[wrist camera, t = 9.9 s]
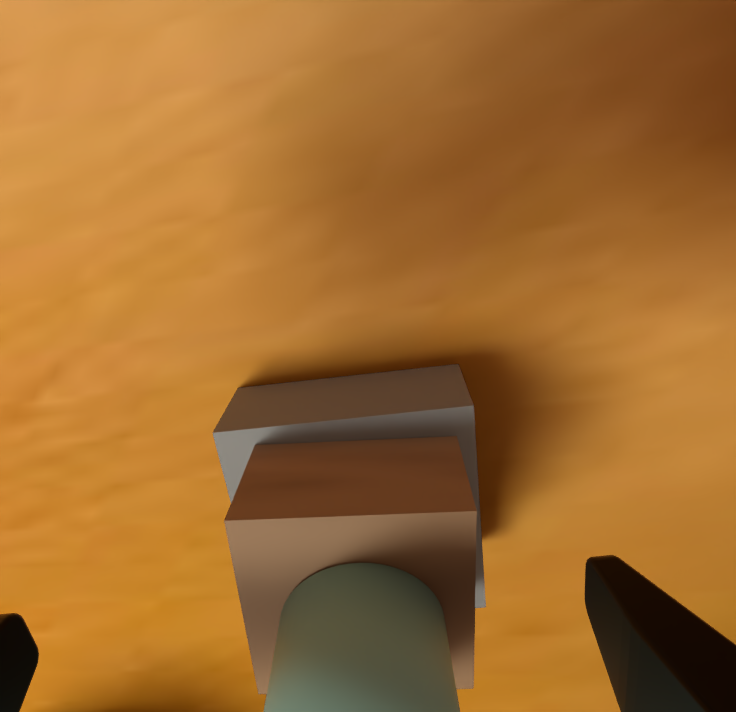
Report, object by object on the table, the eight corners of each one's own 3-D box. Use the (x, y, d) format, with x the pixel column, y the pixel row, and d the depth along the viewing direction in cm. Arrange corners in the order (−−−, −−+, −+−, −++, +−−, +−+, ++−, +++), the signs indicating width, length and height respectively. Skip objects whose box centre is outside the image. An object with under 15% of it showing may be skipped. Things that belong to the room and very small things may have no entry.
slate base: (469, 538, 25) (485, 607, 21) (279, 554, 26) (263, 625, 22) (457, 360, 22) (473, 405, 18) (239, 384, 22) (212, 432, 19)
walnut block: (456, 591, 21) (473, 688, 17) (279, 597, 21) (258, 694, 18) (456, 436, 18) (476, 511, 15) (254, 444, 19) (224, 521, 15)
